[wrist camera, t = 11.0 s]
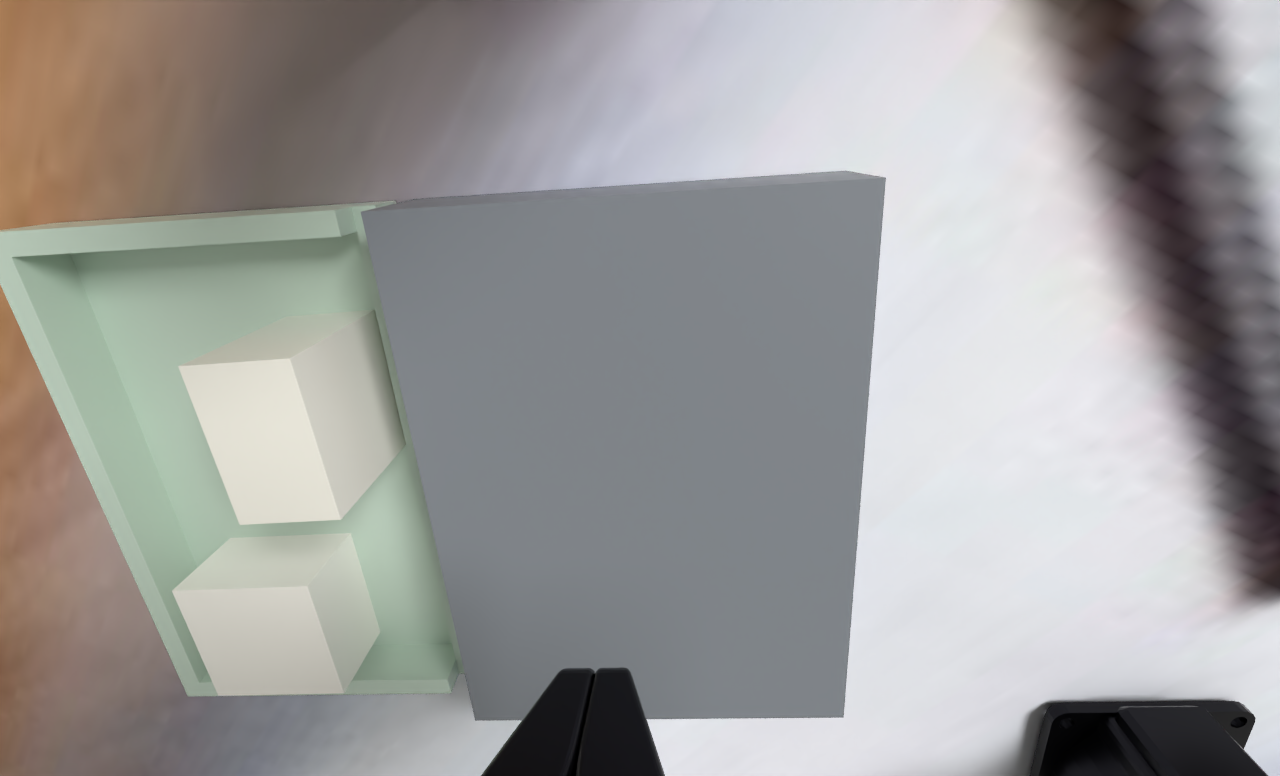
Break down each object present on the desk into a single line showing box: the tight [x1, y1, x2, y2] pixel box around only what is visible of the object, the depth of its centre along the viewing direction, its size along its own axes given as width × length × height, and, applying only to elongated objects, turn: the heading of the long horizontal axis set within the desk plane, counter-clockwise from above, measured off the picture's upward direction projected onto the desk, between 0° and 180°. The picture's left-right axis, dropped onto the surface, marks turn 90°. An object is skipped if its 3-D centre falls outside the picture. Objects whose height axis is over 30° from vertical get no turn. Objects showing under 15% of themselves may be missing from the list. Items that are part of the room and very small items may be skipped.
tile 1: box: [178, 310, 406, 525], centre depth 16 cm, size 4×4×2 cm
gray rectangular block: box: [361, 171, 886, 720], centre depth 17 cm, size 15×11×3 cm
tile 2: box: [172, 533, 380, 696], centre depth 19 cm, size 4×4×2 cm
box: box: [0, 201, 465, 696], centre depth 18 cm, size 15×10×2 cm, turn 4°
